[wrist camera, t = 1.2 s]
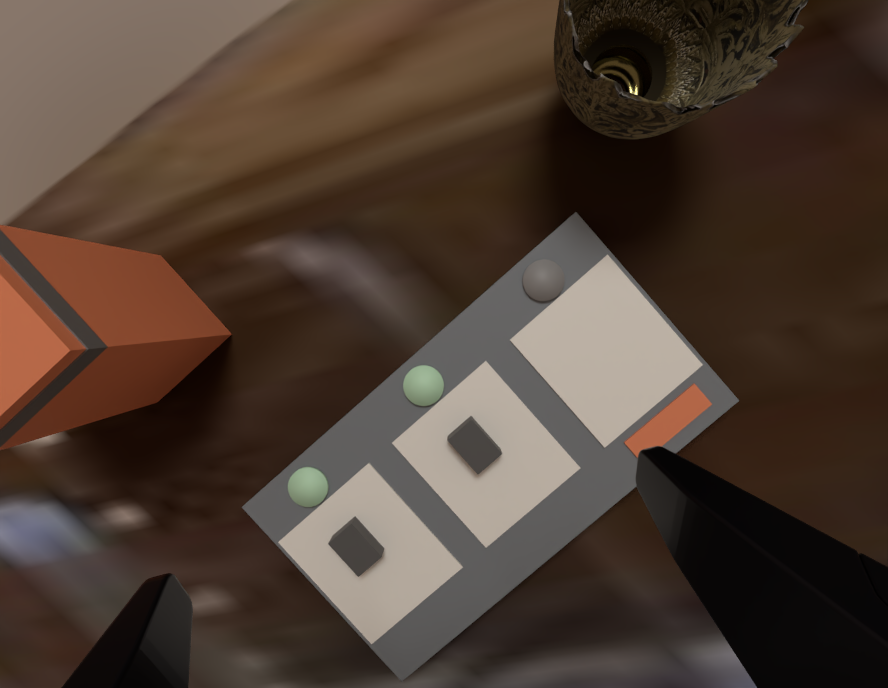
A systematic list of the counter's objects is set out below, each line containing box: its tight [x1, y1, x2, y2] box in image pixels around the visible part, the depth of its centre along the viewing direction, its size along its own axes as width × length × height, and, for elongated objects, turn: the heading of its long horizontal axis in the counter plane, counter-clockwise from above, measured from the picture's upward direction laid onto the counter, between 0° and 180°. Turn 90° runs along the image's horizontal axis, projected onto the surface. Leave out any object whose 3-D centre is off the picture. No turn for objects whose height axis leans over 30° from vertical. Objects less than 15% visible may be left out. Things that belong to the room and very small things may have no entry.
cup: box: [554, 0, 808, 139], centre depth 19 cm, size 8×7×8 cm
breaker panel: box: [242, 212, 739, 681], centre depth 23 cm, size 20×11×2 cm, turn 132°
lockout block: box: [0, 225, 232, 450], centre depth 19 cm, size 5×5×10 cm
